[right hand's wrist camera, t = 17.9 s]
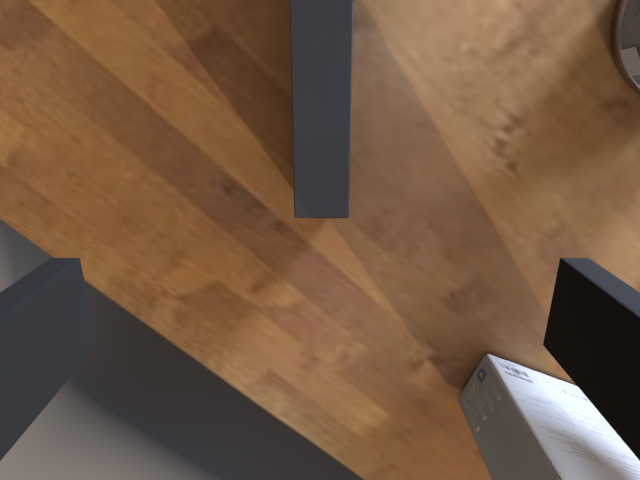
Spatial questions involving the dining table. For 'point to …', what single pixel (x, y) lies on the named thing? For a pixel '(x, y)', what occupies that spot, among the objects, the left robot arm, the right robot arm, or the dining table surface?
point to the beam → (321, 106)
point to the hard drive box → (540, 427)
